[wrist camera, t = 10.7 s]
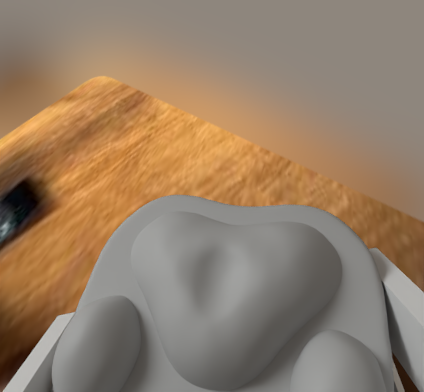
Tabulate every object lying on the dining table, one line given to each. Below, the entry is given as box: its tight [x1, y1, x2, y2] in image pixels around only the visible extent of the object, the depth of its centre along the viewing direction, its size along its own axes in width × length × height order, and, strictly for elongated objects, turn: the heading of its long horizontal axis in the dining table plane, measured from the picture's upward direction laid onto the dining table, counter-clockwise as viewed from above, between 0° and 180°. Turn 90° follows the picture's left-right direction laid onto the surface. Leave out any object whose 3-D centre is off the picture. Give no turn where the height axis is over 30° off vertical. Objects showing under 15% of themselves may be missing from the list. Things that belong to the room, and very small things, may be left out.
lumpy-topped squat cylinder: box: [51, 195, 394, 392], centre depth 14 cm, size 10×13×9 cm
